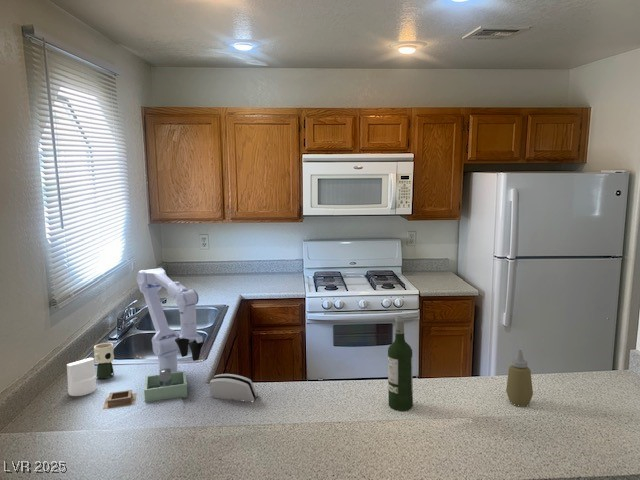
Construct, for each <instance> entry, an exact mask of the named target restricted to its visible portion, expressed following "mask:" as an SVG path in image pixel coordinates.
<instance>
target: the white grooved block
mask: <svg viewBox="0 0 640 480" xmlns="http://www.w3.org/2000/svg"><path fill="white" fill-rule="evenodd" d="M95 364H96V363H95V358H93V357H88V358H84V359H81V360H77V361H74V362H69V363H67V364H66V374H67V390H68V393H67V395H69V396H71V397H80V396H81V397H82V396H85V395H86V396H87V395H88V394H92V393H94V392H95V391H96V390H97V384H96V383H97V381H96V378H97V377H96V369H95Z"/></svg>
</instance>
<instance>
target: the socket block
mask: <svg viewBox="0 0 640 480" xmlns="http://www.w3.org/2000/svg"><path fill="white" fill-rule="evenodd" d="M137 395H138V393H137V392H135V393H133V389H127V390H120V391H114V392H109V395H108V397H105V401H104V404H103V407H102V410H108V409H115V408H120V407H121V408H122V407H127V406H134V405H136V401H137Z"/></svg>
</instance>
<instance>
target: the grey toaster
mask: <svg viewBox="0 0 640 480" xmlns="http://www.w3.org/2000/svg"><path fill="white" fill-rule="evenodd" d="M209 391H210V392H209V393H210V398H214V399H215V398H216V399H223V400H231V399H234V400H233V401H239V400H244V401H243V402H247V401H254V400H255V398H258V397H259V392H257V391H256V389H255V386H254V383H253V381H252V380H251V379H250V378H248V377H245V376H243V375H239V374H233V373H232V374H231V373H221V374H216V375H214V376H213V377H212V379H210V381H209ZM257 396H258V397H257ZM254 402H255V401H254Z"/></svg>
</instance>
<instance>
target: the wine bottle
mask: <svg viewBox="0 0 640 480" xmlns="http://www.w3.org/2000/svg"><path fill="white" fill-rule="evenodd" d="M394 319H395V333H394V337H395V338H394V341H393V342H392V343H391V344H389V346H388V349H387V380H388V381H387V382H388V383H387V385H388V386H387V387H388V391H387V392H388V394H387V395H388V397H387V398H388V399H387V400H388V406H390V407H389V408H390V409H392V410H393V409H394V411H397V410H398V411H397V412H406V410H407V411H409V409H410V410H411V409H413V406H414V405H413V403H414V396H413V395H414V394H413V393H414V389H413V388H414V387H413V383H414V381H413V349H412V347H411V346H410V344H409V343H408V342H407V341H406V339H405V318H404V316H403V315H396V316H395V318H394Z"/></svg>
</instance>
